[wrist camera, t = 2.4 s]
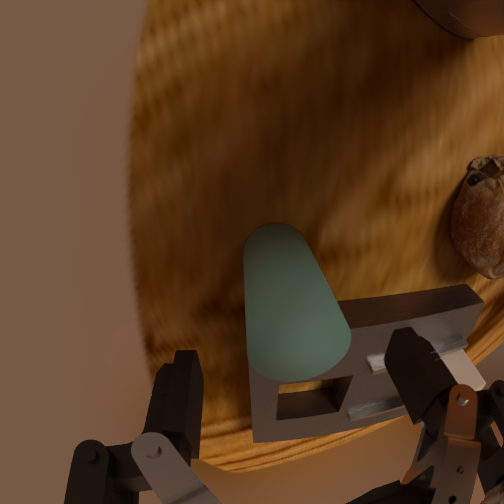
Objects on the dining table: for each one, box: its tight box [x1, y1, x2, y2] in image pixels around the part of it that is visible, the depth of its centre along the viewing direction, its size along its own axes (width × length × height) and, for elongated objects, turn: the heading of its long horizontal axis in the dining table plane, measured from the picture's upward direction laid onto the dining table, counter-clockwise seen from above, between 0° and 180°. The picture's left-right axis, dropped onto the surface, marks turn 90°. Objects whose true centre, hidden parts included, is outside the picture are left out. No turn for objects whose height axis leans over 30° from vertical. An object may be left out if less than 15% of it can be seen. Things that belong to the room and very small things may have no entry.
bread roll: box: [450, 155, 504, 279], centre depth 14 cm, size 10×10×8 cm
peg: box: [243, 223, 351, 382], centre depth 13 cm, size 4×4×8 cm
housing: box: [248, 284, 484, 443], centre depth 21 cm, size 16×20×4 cm
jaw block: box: [420, 349, 486, 428], centre depth 17 cm, size 6×4×6 cm, turn 2°
